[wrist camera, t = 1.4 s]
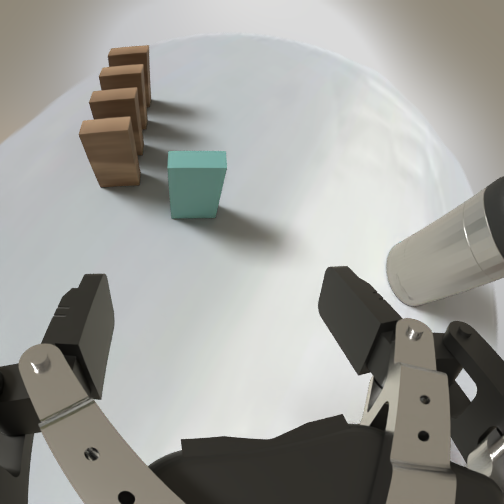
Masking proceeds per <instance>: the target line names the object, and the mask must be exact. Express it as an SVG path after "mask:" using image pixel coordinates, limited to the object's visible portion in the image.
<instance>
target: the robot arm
mask: <svg viewBox="0 0 504 504" xmlns="http://www.w3.org/2000/svg"><path fill="white" fill-rule="evenodd" d="M386 269H387V277H388V281H389V284H390V286H391V288H392V290H393V292H394V293H395V295H396V296H397V297H398V298H399V299H400V300H401V301H402V302H403V303H405V304H407V305H410V306H419V305H423V304H426V303H430V302H433V301H436V300H440V299H443V298H446V297H449V296H453V295H456V294H459V293H462V292H465V291H468V290H471V289H474V288H476V287H479V286H482V285H485V284H488V283H491V282H493V281H496V280H499V279H501V278H504V177H501V178H499V179H497V180H496V181H494V182H493V183H492V184H490V185H489V186H487V187H486V188H485V189H483V190H481V191H480V192H479V193H477V194H476V195H474V196H473V197H471V198H470V199H468V200H467V201H465V202H464V203H462V204H461V205H459V206H458V207H456V208H455V209H453V210H452V211H450V212H448V213H447V214H445V215H444V216H442V217H441V218H439V219H437V220H436V221H434V222H433V223H431V224H429V225H428V226H426V227H425V228H423V229H421V230H420V231H418V232H416V233H415V234H413V235H411V236H410V237H408V238H406V239H405V240H403V241H401V242H400V243H398V244H396V245H395V246H394V247H393V248H392V249H391V251H390V252H389V255H388V258H387V264H386ZM318 309H319V314H320V316H321V318H322V319H323V321H324V323H325V324H326V326H327V327H328V329H329V330H330V332H331V333H332V335H333V336H334V338H335V340H336V341H337V343H338V344H339V346H340V347H341V349H342V351H343V352H344V354H345V355H346V357H347V358H348V360H349V362H350V363H351V365H352V366H353V368H354V369H355V371H356V373H357V374H358V375H362V374H366V373H370V372H371V373H372V375H373V376H372V378H371V380H370V382H369V387H368V392H367V397H366V402H365V407H364V411H363V416H362V420H361V423H360V424H348V423H347V422H346V420H345V418H344V416H343V414H341V415H337V416H333V417H329V418H325V419H321V420H317V421H313V422H309V423H306V424H304V425H302V426H300V427H298V428H295V429H293V430H291V431H289V432H287V433H284V434H282V435H280V436H278V437H275V438H273V439H267V440H265V439H248V438H236V437H226V436H222V437H211V438H197V439H181V444H182V450H180V451H177V452H173V453H171V454H168V455H166V456H164V457H162V458H160V459H158V460H156V461H155V462H153V463H152V464H150V465H149V466H147V465H146V464H145V463H144V462H143V461H142V460H141V459H140V458H139V456H138V455H137V454H136V453H135V452H134V451H133V450H132V448H131V447H130V446H129V445H128V444H127V443H126V441H125V440H124V439H123V438H122V436H121V435H120V434H119V433H118V432H117V430H116V429H115V428H114V426H113V425H112V424H111V423H110V421H109V420H108V419H107V417H106V416H105V415H104V413H103V412H102V411H101V409H100V408H99V406H98V405H97V404H96V402H95V401H94V400H93V399H98V400H101V398H102V391H103V384H104V378H105V372H106V366H107V360H108V355H109V350H110V345H111V340H112V335H113V330H114V310H113V306H112V301H111V295H110V290H109V285H108V279H107V276H106V274H85V275H84V277H83V279H82V281H81V283H80V285H79V287H78V288H72V289H71V290H70V291H68V292H67V293H66V294H65V295H64V296H63V297H62V299H61V301H60V303H59V305H58V308H57V309H56V311H55V313H54V316H53V318H52V320H51V322H50V324H49V327H48V329H47V331H46V333H45V336H44V338H43V340H42V343H41V344H38V345H35V346H32V347H31V348H29V349H28V350H26V351H25V352H24V353H23V355H22V356H21V358H20V360H19V363H18V364H13V365H7V366H2V367H0V504H28V485H29V471H30V461H31V452H32V444H33V437H34V433H39V432H42V434H43V436H44V438H45V440H46V442H47V444H48V446H49V448H50V450H51V451H52V453H53V455H54V457H55V459H56V460H57V462H58V464H59V465H60V467H61V469H62V470H63V472H64V474H65V475H66V477H67V479H68V480H69V482H70V483H71V485H72V486H73V488H74V489H75V491H76V492H77V494H78V495H79V497H80V498H81V499H82V501H83V502H84V504H504V361H503V360H502V359H501V357H500V356H499V355H498V354H497V353H496V352H495V351H494V350H493V349H492V347H491V346H490V345H489V344H488V343H487V342H486V341H485V340H484V339H483V338H482V337H481V336H480V335H479V334H478V332H477V331H476V330H475V329H474V328H472V327H471V326H470V325H468V324H466V323H464V322H460V321H453V322H451V323H450V324H449V326H448V328H447V330H446V332H445V333H432V331H431V330H430V328H429V327H428V326H427V325H425V324H424V323H422V322H420V321H418V320H415V319H411V318H405V319H402V318H401V316H400V315H399V314H398V313H397V312H396V311H395V310H394V309H393V308H392V307H391V306H390V305H389V304H388V303H387V302H386V300H383V297H382V296H381V295H380V294H379V293H377V291H376V290H375V289H374V288H373V287H372V286H371V285H370V284H369V283H367V282H365V281H364V280H362V279H360V278H359V277H358V276H357V275H356V274H355V273H354V272H353V271H352V270H351V269H350V268H349V267H347V266H338V267H328V268H327V269H326V272H325V275H324V280H323V284H322V289H321V293H320V297H319V302H318ZM463 368H464V369H465V371H466V372H467V373H468V374H469V376H470V377H471V378H472V380H473V381H474V382H475V384H476V386H477V394H476V397H475V398H474V399H473V401H472V402H470V400H469V399H468V397H467V396H466V395H465V393H464V392H463V391H462V389H461V388H460V386H459V385H458V384H457V382H456V381H455V379H456V378H457V376H458V375H459V373H460V372H461V370H462V369H463ZM450 436H451V438H452V440H453V441H454V443H455V445H456V446H457V448H458V450H459V451H460V453H461V455H462V456H463V458H464V460H465V462H466V463H467V465H468V467H467V468H466V467H463V466H460V465H458V464H455V463H453V462H450Z"/></svg>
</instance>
